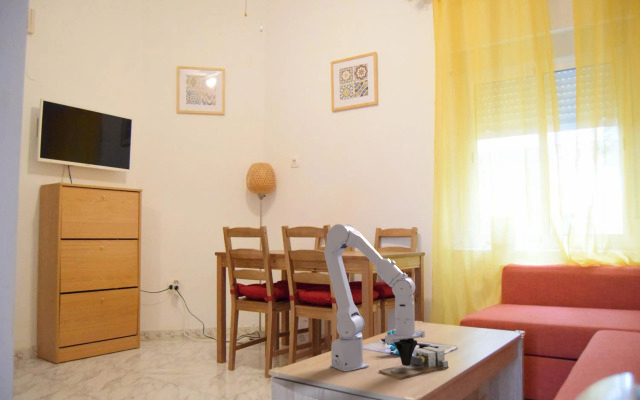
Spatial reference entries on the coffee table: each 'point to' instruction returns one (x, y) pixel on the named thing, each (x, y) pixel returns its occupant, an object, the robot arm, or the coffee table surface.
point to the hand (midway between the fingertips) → (406, 365)
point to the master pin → (418, 360)
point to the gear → (392, 343)
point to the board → (408, 371)
